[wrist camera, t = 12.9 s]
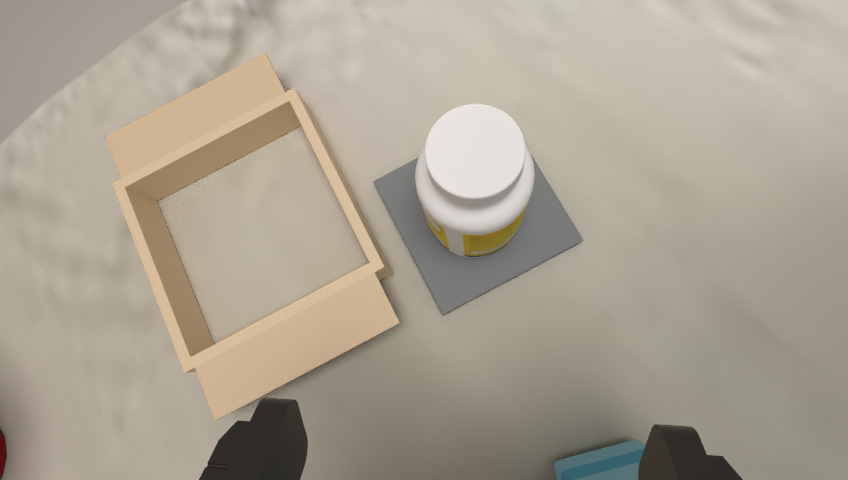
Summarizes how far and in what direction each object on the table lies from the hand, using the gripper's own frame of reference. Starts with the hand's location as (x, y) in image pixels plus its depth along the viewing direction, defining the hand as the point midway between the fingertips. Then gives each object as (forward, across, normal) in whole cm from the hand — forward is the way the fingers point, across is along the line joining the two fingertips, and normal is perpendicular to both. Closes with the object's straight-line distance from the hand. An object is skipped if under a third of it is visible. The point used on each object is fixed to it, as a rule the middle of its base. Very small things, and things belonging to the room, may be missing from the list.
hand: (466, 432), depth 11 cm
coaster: (+18, 0, +5) cm, 19 cm away
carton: (+17, +13, +6) cm, 22 cm away
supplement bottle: (+18, 0, +5) cm, 19 cm away
